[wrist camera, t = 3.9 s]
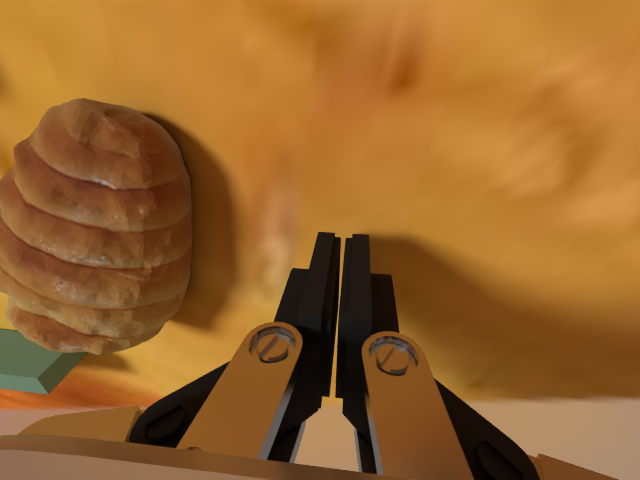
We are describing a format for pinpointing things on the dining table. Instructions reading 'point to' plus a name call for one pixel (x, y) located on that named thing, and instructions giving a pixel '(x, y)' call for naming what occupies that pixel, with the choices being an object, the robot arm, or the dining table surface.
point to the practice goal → (32, 364)
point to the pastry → (95, 229)
